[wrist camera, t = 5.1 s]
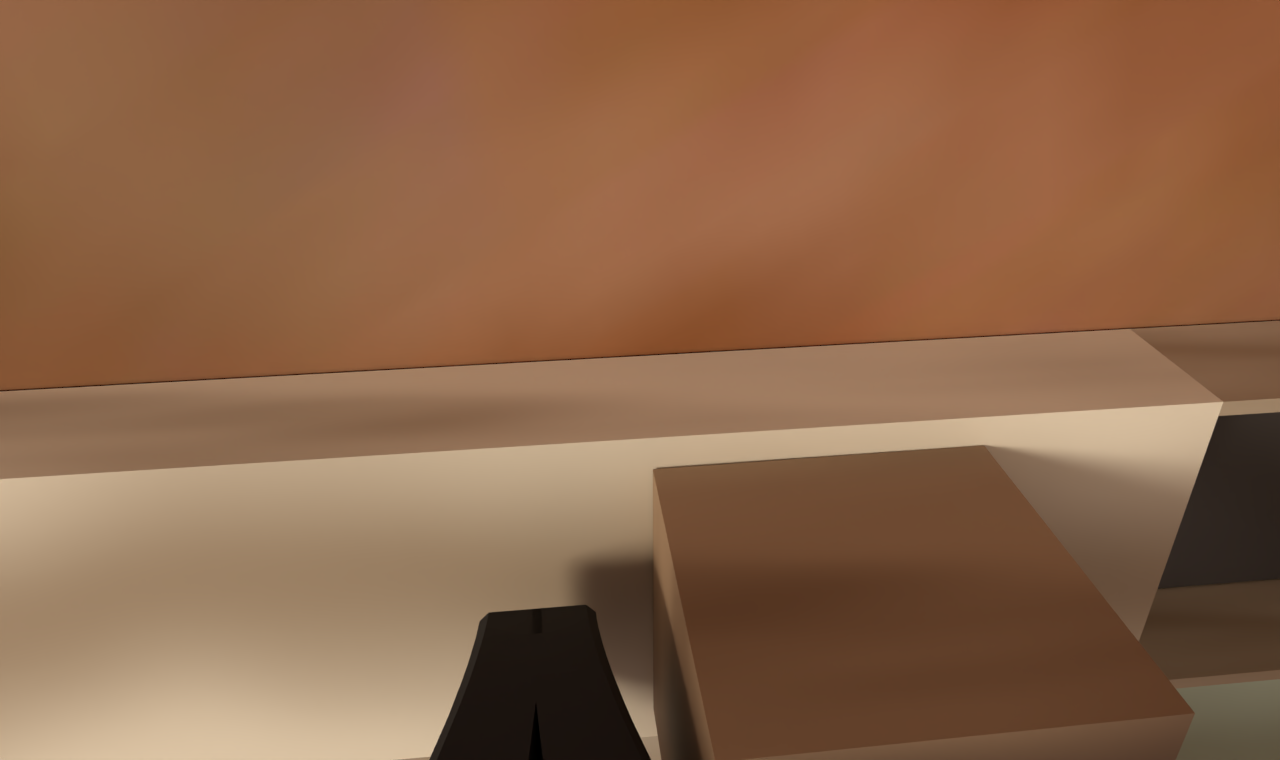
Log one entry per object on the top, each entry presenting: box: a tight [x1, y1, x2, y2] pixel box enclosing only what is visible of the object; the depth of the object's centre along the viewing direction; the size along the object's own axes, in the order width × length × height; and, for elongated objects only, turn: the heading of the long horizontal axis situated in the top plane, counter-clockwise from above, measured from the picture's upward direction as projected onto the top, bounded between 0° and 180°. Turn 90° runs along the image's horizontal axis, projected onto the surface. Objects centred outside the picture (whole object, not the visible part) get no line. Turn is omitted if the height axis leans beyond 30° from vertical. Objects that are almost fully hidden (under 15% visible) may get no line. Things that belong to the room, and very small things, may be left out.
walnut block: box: [653, 445, 1195, 760], centre depth 10 cm, size 4×4×4 cm
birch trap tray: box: [0, 321, 1280, 760], centre depth 14 cm, size 11×23×4 cm, turn 90°
